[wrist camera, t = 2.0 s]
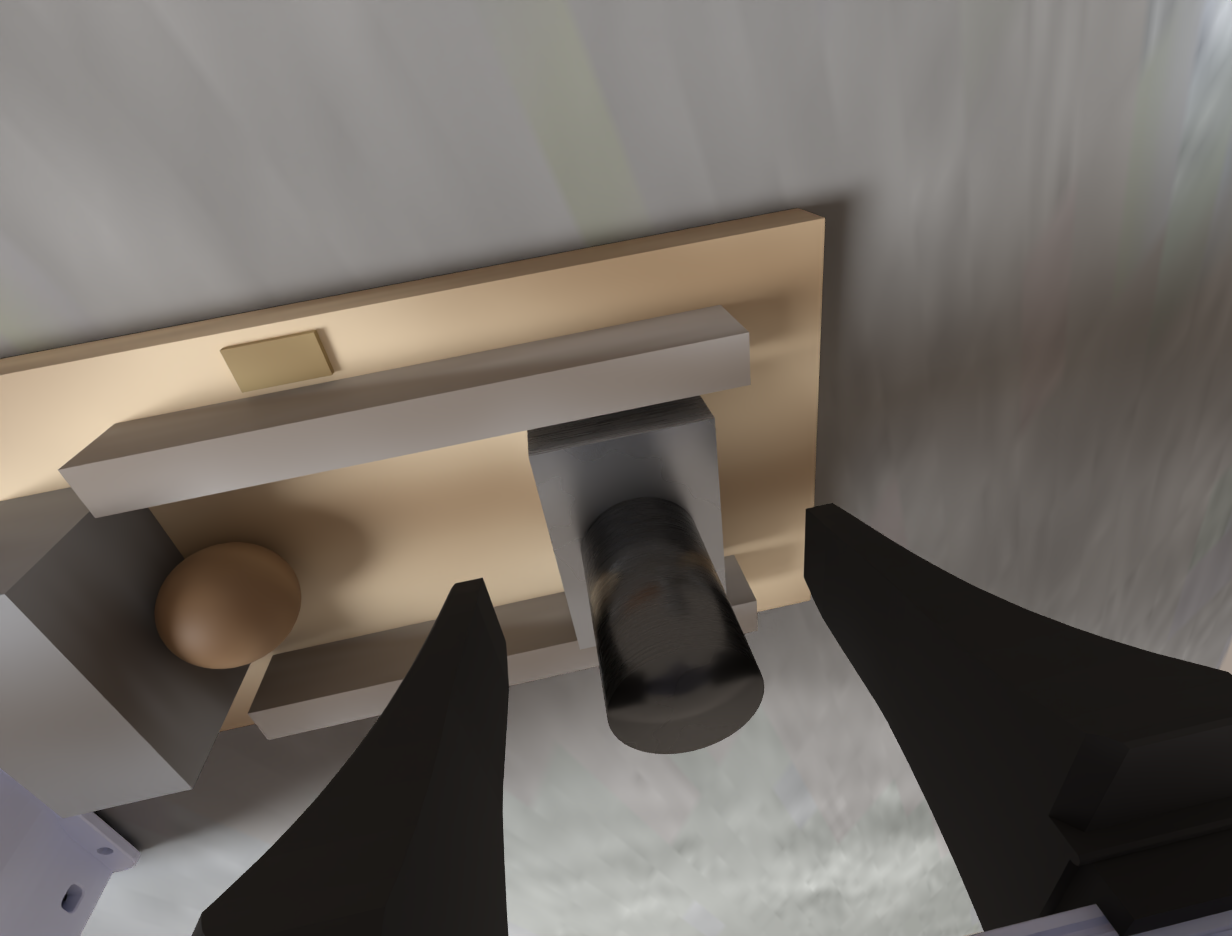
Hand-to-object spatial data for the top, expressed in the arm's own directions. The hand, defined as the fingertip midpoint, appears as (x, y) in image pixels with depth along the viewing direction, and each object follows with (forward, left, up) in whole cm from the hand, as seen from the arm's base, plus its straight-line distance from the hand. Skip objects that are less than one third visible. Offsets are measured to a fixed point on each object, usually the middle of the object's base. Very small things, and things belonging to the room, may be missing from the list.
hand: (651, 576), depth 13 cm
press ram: (0, 0, -4) cm, 4 cm away
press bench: (0, +5, -5) cm, 7 cm away
